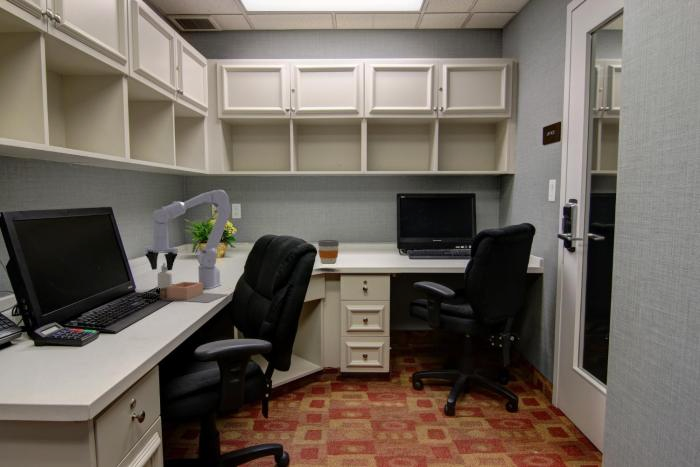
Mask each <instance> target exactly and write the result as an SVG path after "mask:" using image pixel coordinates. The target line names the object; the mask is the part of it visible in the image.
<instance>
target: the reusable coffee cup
mask: <svg viewBox="0 0 700 467" xmlns="http://www.w3.org/2000/svg"><path fill="white" fill-rule="evenodd" d="M317 242H318V243H317V244H318V256H319V258H320V260H319V261H320V264H321V263H322V264H335V263H336V264H337V259H338V255H339V240H336V239H325V240H324V239H322V240H318V241H317Z"/></svg>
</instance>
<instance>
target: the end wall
mask: <svg viewBox="0 0 700 467" xmlns="http://www.w3.org/2000/svg"><path fill="white" fill-rule="evenodd" d="M159 294H160V295H159V296H160V297H159V298H161V299H160V300H164V299H166V298H167V287H164V288H160V290H159Z"/></svg>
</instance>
